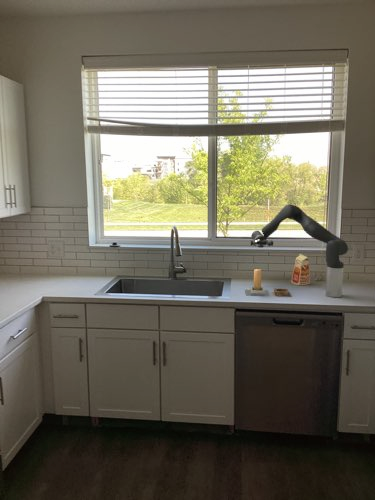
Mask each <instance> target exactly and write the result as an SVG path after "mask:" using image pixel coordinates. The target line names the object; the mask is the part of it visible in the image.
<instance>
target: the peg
mask: <svg viewBox="0 0 375 500" xmlns="http://www.w3.org/2000/svg"><path fill="white" fill-rule="evenodd" d="M253 287H254V290H261V287H262V269H260V268H259V269H257V268H256V269H253Z"/></svg>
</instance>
